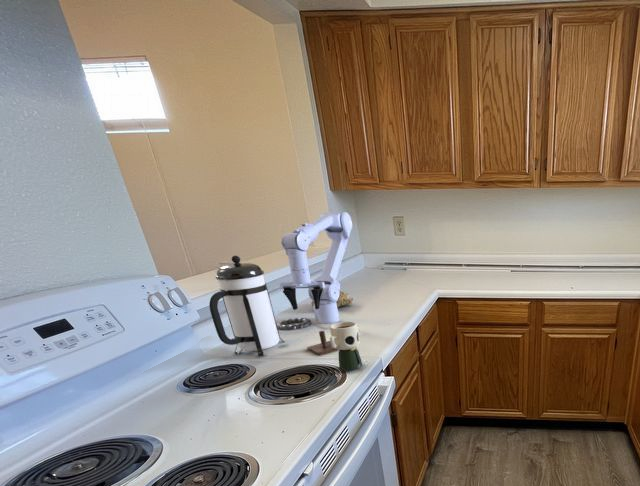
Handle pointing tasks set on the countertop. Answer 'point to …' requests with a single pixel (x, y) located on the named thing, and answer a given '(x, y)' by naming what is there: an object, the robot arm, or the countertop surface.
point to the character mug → (346, 344)
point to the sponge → (342, 299)
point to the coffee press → (245, 307)
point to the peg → (322, 346)
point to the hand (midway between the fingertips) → (306, 309)
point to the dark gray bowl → (302, 321)
